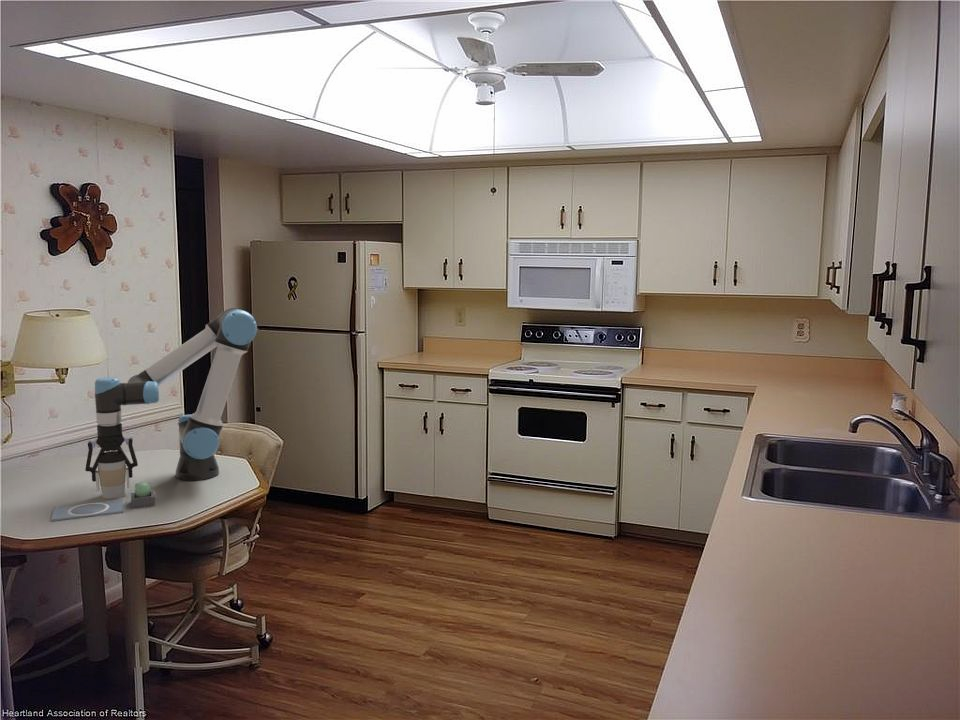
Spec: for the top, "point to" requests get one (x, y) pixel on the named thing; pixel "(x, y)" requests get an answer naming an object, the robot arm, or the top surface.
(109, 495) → the coffee cup
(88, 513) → the slate board
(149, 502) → the button housing
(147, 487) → the button
